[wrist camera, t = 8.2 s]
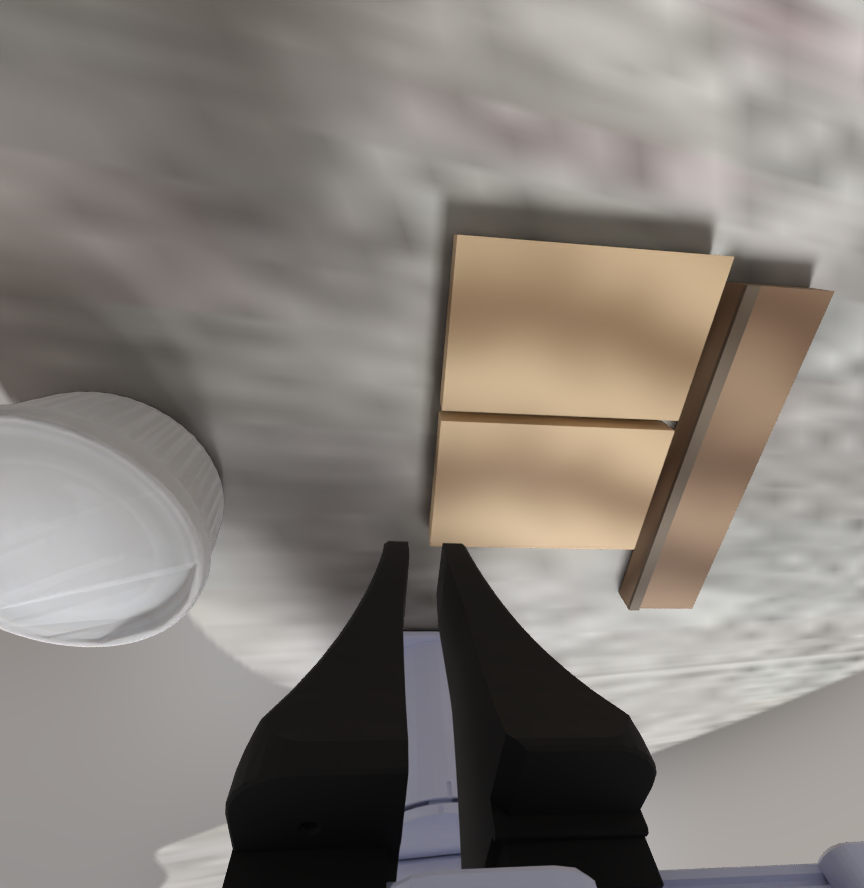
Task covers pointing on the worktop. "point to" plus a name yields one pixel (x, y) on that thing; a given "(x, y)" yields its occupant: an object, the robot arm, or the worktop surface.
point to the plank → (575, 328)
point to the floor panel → (720, 437)
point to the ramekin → (101, 519)
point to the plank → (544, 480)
